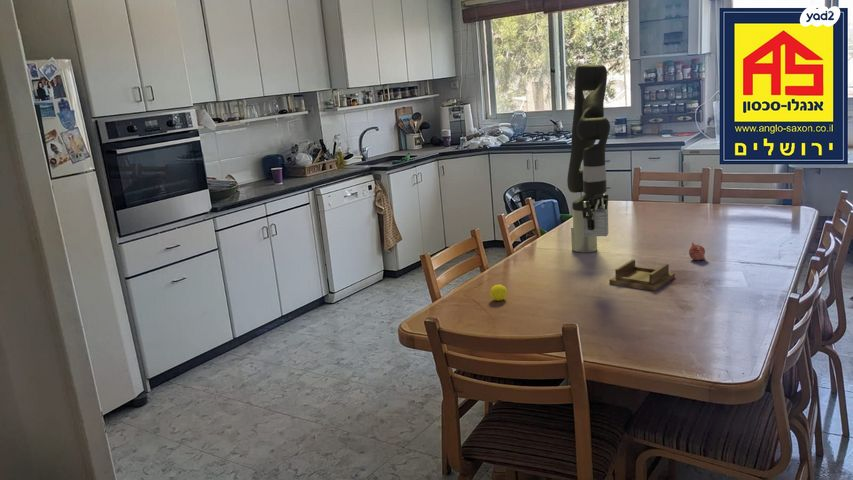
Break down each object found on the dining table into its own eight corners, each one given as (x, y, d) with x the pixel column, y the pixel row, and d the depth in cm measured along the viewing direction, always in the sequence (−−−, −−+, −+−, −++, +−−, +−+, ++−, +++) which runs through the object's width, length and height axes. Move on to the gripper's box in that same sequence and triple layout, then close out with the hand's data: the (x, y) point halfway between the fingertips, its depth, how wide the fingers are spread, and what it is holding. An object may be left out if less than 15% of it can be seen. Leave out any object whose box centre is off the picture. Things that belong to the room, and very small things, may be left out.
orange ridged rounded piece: (683, 246, 242) (696, 237, 241) (683, 249, 249) (696, 240, 248) (697, 264, 239) (710, 255, 238) (697, 266, 247) (710, 258, 245)
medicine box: (608, 233, 227) (608, 208, 224) (607, 236, 223) (606, 211, 220) (585, 233, 229) (584, 208, 227) (583, 236, 225) (582, 211, 223)
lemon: (496, 297, 225) (496, 282, 224) (510, 299, 222) (510, 283, 221) (486, 301, 219) (486, 285, 219) (500, 303, 216) (500, 287, 216)
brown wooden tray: (609, 283, 227) (609, 269, 226) (630, 271, 238) (630, 257, 237) (654, 291, 216) (654, 276, 215) (674, 277, 228) (674, 263, 226)
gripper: (595, 174, 229) (596, 222, 233) (573, 181, 219) (574, 231, 223) (615, 175, 224) (616, 224, 228) (593, 183, 214) (595, 233, 218)
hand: (595, 227), depth 225 cm, fingers closed on medicine box, 5 cm apart
